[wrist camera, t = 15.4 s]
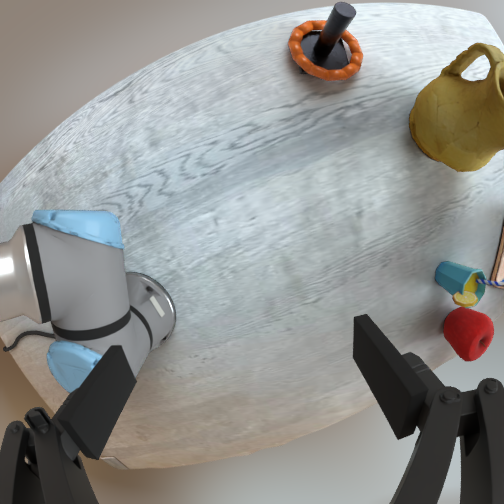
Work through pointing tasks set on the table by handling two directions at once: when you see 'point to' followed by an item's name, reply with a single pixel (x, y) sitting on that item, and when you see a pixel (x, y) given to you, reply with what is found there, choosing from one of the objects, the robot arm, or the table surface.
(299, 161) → the table surface
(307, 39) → the peg stand
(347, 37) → the ring
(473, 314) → the apple
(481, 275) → the cup
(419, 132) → the pitcher
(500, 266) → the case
